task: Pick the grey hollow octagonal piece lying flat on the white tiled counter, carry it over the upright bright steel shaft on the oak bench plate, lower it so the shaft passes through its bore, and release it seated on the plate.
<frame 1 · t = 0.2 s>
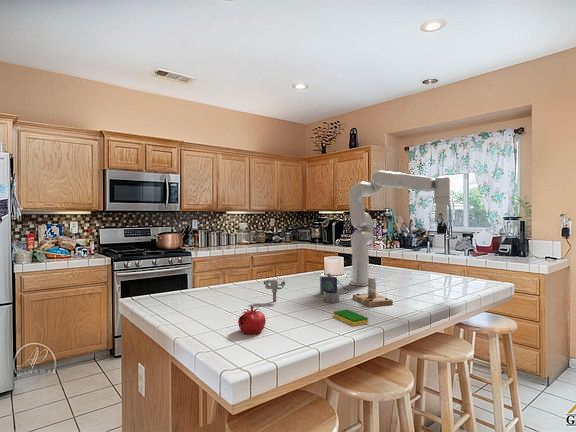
hand: (441, 233, 187), 31 cm above the countertop, tool pointing down, fingers open, 9 cm apart
grey hollow octagonal piece: (331, 301, 172), on the countertop
mechanical component: (274, 301, 172), on the countertop
flask: (328, 294, 187), on the countertop
dish sponge: (350, 321, 143), on the countertop
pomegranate: (252, 331, 130), on the countertop
shaft block: (372, 301, 171), on the countertop
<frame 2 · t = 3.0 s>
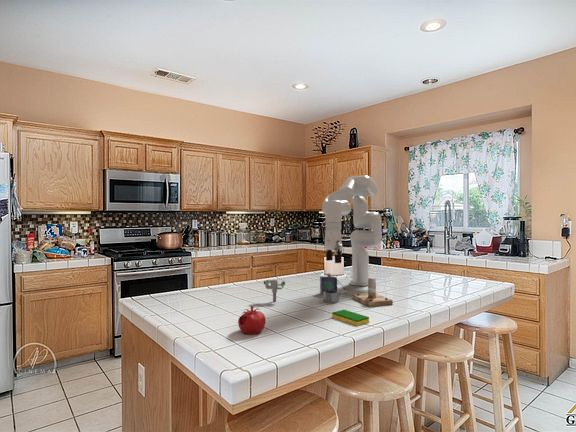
hand: (333, 261, 172), 19 cm above the countertop, tool pointing down, fingers open, 9 cm apart
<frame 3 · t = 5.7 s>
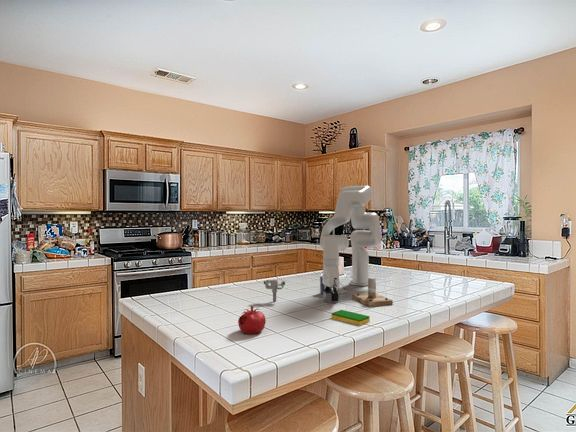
hand: (331, 298, 172), 1 cm above the countertop, tool pointing down, fingers closed on grey hollow octagonal piece, 7 cm apart
grey hollow octagonal piece: (331, 301, 172), on the countertop, touching gripper
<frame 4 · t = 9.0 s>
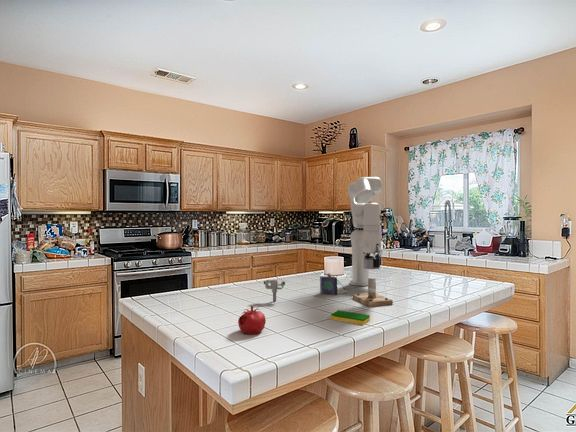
hand: (372, 266, 170), 17 cm above the countertop, tool pointing down, fingers closed on grey hollow octagonal piece, 7 cm apart
grey hollow octagonal piece: (371, 268, 170), point 16 cm above the countertop, touching gripper
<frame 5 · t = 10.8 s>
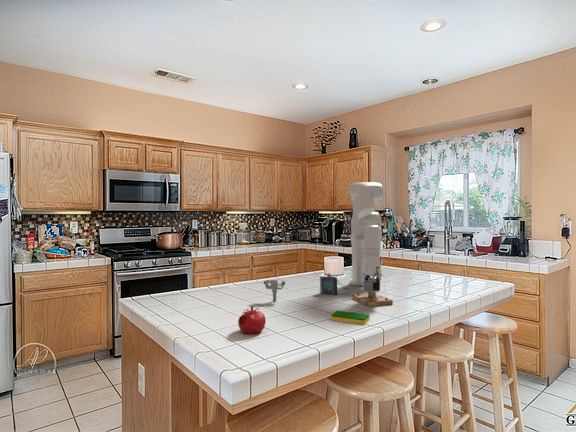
hand: (371, 288, 170), 6 cm above the countertop, tool pointing down, fingers closed on grey hollow octagonal piece, 7 cm apart
grey hollow octagonal piece: (371, 290, 170), point 5 cm above the countertop, touching gripper
when the fingers open (4 cm above the countertop, at t = 12.3 s): grey hollow octagonal piece drops 1 cm, resting on shaft block.
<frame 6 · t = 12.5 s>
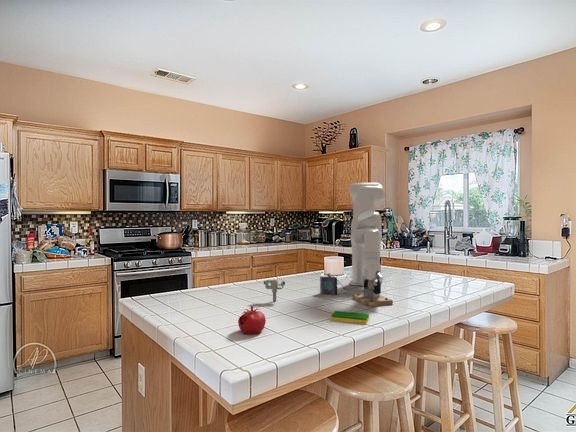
hand: (371, 291, 171), 5 cm above the countertop, tool pointing down, fingers open, 9 cm apart
grey hollow octagonal piece: (371, 297, 171), point 2 cm above the countertop, touching shaft block
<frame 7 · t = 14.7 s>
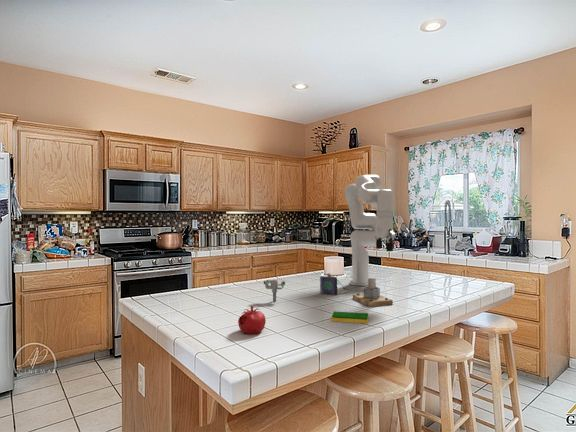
hand: (384, 249, 175), 24 cm above the countertop, tool pointing down, fingers open, 9 cm apart
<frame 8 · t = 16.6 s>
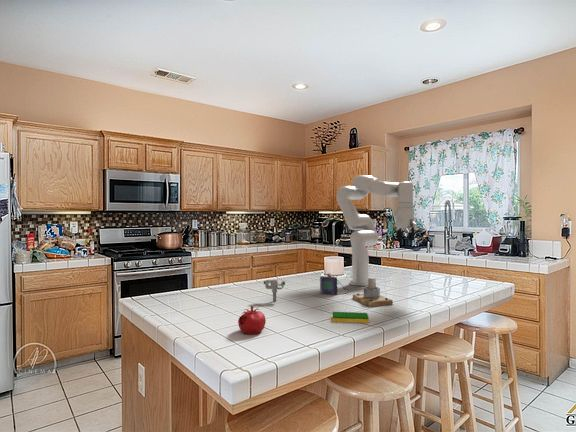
hand: (405, 239, 183), 28 cm above the countertop, tool pointing down, fingers open, 9 cm apart
at the end: grey hollow octagonal piece 0.2 cm off-centre on the shaft block, point 2.0 cm above the shaft block's base; grey hollow octagonal piece tilted 0°; the gripper is holding nothing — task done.
